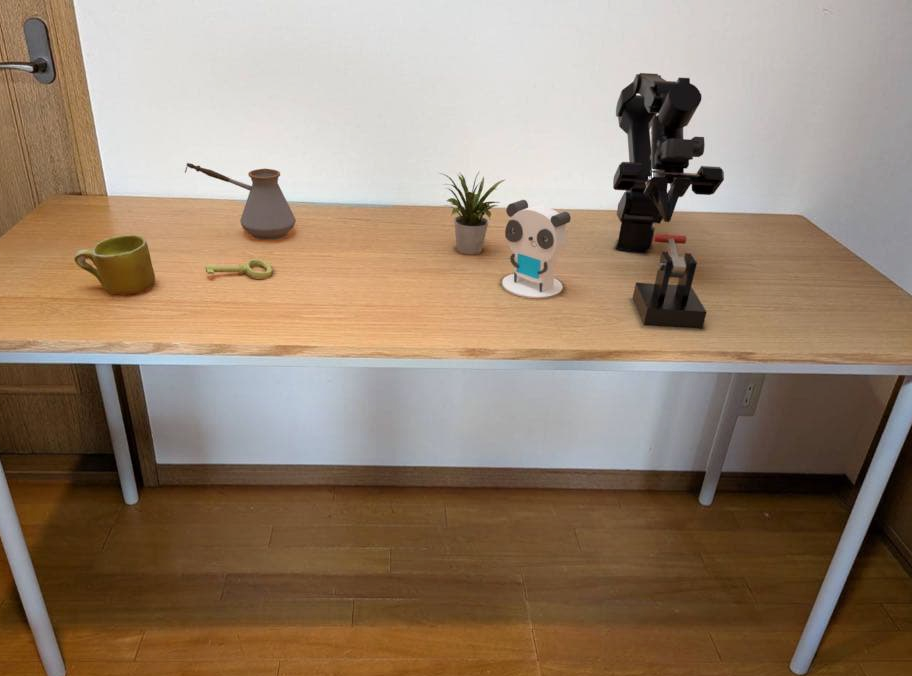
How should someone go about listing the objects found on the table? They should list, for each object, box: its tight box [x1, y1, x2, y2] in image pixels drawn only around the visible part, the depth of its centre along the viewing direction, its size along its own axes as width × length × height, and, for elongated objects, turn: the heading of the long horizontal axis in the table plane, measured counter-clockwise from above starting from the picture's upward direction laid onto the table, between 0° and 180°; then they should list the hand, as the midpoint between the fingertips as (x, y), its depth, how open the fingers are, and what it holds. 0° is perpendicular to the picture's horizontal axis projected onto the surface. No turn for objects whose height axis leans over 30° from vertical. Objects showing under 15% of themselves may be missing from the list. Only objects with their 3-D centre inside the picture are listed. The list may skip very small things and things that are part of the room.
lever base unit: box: [632, 251, 707, 330], centre depth 130 cm, size 11×10×11 cm
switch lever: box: [652, 233, 687, 279], centre depth 130 cm, size 10×6×2 cm, turn 177°
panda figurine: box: [501, 199, 572, 299], centre depth 137 cm, size 12×11×15 cm
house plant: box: [439, 169, 506, 255], centre depth 151 cm, size 14×14×16 cm
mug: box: [73, 234, 156, 296], centre depth 132 cm, size 12×10×10 cm
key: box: [205, 258, 273, 280], centre depth 139 cm, size 7×12×2 cm, turn 128°
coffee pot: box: [184, 162, 297, 241], centre depth 154 cm, size 21×12×15 cm, turn 99°
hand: (667, 221), depth 135 cm, fingers closed
